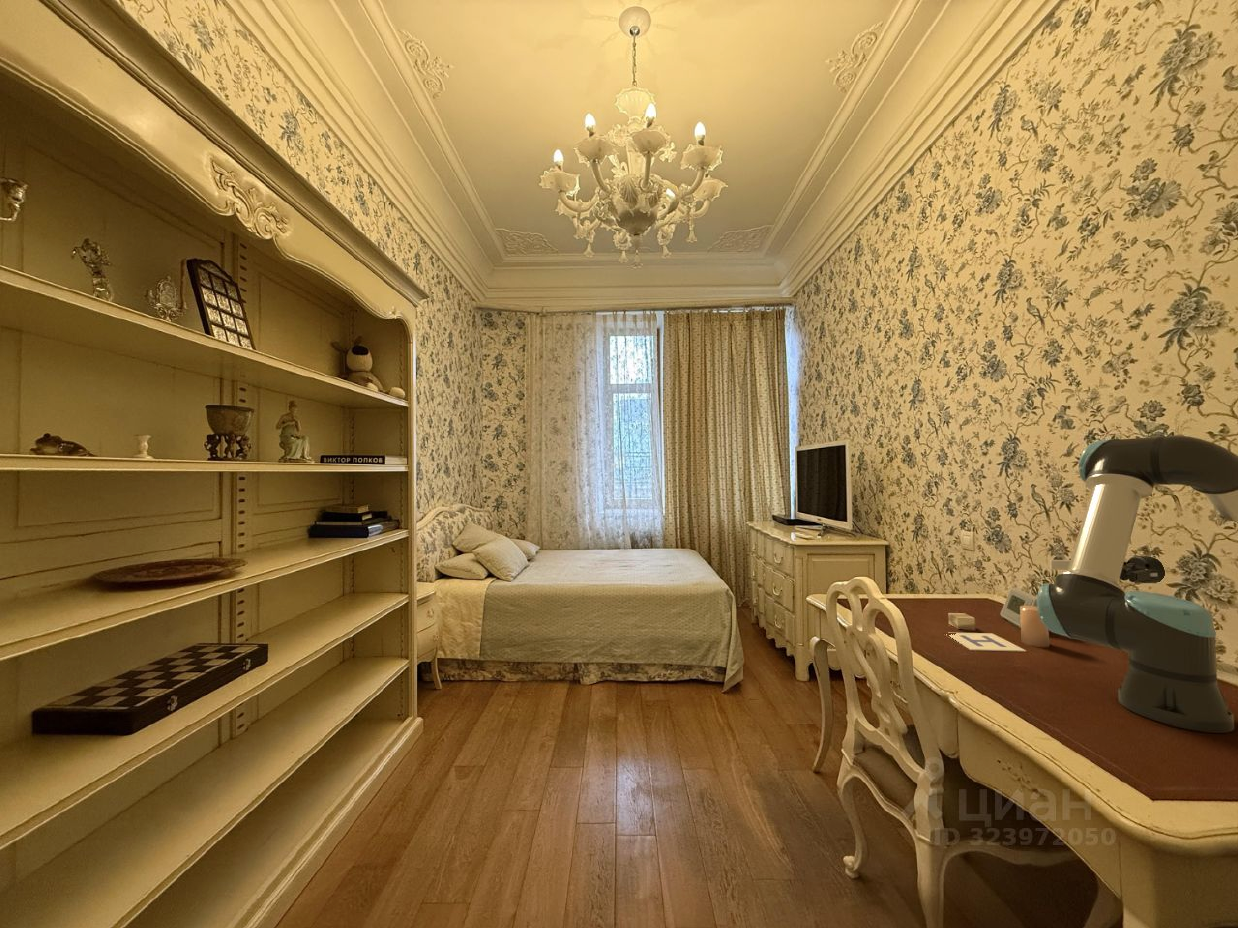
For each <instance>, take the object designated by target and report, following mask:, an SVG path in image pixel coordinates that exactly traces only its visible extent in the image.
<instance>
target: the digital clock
mask: <svg viewBox="0 0 1238 928" xmlns="http://www.w3.org/2000/svg"><path fill="white" fill-rule="evenodd" d="M1020 606H1035V607H1037V595H1034V594H1032V593H1030V592H1027V591H1025V590H1023V589H1020V588H1017V587H1012V588H1010V589H1009V591H1008V594H1007V596H1006V598H1005V601H1004V603H1003V607H1002V609H1001V611H1000V616H1001V617H1002V618H1003V619H1005V620H1006V621H1007V622H1009V623H1010V624H1011V625H1013V626H1016V627H1017V628H1019V629H1020V630H1021V618H1020Z"/></svg>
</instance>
